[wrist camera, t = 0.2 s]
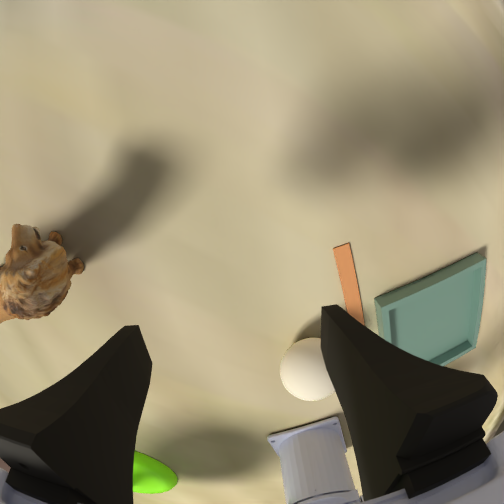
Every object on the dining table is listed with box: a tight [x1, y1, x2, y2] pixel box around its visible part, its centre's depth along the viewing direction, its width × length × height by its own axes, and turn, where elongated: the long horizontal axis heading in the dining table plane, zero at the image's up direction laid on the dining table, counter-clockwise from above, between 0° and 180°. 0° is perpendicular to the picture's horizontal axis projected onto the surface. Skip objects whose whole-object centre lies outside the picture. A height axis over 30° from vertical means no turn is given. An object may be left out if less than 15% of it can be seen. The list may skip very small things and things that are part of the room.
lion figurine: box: [0, 224, 84, 323], centre depth 16 cm, size 15×5×9 cm, turn 119°
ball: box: [280, 338, 335, 401], centre depth 22 cm, size 5×5×5 cm
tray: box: [374, 253, 486, 366], centre depth 24 cm, size 11×11×1 cm
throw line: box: [333, 243, 365, 326], centre depth 24 cm, size 18×1×1 cm, turn 19°
